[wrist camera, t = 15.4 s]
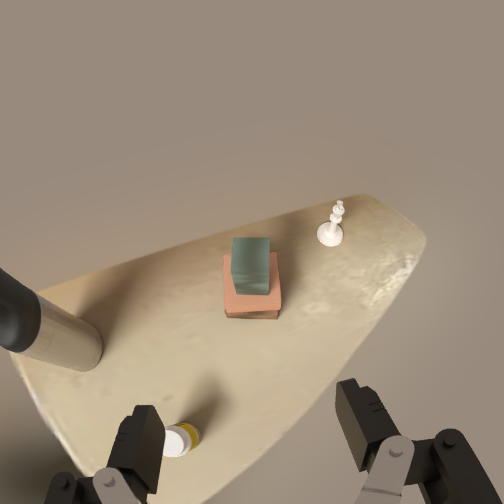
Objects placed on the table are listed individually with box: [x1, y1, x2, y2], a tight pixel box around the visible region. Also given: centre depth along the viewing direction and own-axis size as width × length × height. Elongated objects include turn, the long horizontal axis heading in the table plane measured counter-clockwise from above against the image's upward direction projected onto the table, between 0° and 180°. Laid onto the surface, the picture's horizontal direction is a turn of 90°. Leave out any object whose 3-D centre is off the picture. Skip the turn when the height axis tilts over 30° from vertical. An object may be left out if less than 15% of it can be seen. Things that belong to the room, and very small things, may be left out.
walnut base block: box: [225, 309, 278, 319], centre depth 47 cm, size 8×8×4 cm
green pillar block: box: [230, 238, 270, 295], centre depth 38 cm, size 4×4×8 cm
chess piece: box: [317, 200, 345, 246], centre depth 48 cm, size 5×5×10 cm
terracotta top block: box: [224, 252, 281, 313], centre depth 44 cm, size 8×8×4 cm
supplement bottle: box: [163, 422, 201, 457], centre depth 34 cm, size 5×5×8 cm
